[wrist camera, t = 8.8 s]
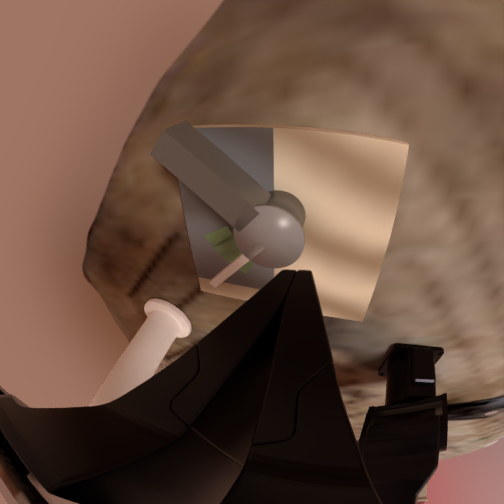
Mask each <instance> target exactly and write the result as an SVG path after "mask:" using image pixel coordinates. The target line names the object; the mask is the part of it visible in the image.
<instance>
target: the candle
mask: <svg viewBox="0 0 504 504" xmlns="http://www.w3.org/2000/svg"><path fill="white" fill-rule="evenodd" d="M144 311H145V314H146V316H147V319H146V320H145V322H144V323H143V325H142V326H141V327H140V329H139V330H138V332H137V333H136V335H135V336H134V338H133V339H132V340H131V342H130V343H129V345H128V346H127V348H126V349H125V351H124V352H123V354H122V355H121V357H120V358H119V360H118V361H117V363H116V364H115V366H114V367H113V369H112V370H111V372H110V373H109V375H108V376H107V378H106V379H105V381H104V382H103V384H102V385H101V387H100V389H99V390H98V392H97V393H96V395H95V396H94V398H93V400H92V401H91V403H90V404H89V406H97V405H102V404H105V403H108V402H111V401H113V400H115V399H117V398H119V397H121V396H122V395H124V394H126V393H127V392H129V391H130V390H132V389H134V388H135V387H137V386H138V385H140V384H142V383H143V382H145V381H146V380H148V379H149V378H151V377H152V376H153V375H154V373H155V371H156V370H157V368H158V366H159V365H160V363H161V361H162V360H163V358H164V356H165V355H166V353H167V351H168V350H169V348H170V346H171V345H172V343H173V341H174V340H175V338H176V337H179V338H183V337H186V336H188V335H189V334H190V332H191V323H190V321H189V319H188V318H187V317H186V315H185V314H184V313H183V312H182V311H181V310H180V309H178V308H177V307H176V306H174V305H173V304H171V303H169V302H167V301H165V300H162V299H157V298H153V299H150V300H148V301H147V302H146V304H145V306H144Z"/></svg>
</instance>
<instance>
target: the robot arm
mask: <svg viewBox="0 0 504 504" xmlns="http://www.w3.org/2000/svg"><path fill="white" fill-rule="evenodd" d="M443 354H444V349H443V348H433V347H422V346H412V345H403V344H396V345H395V346H394V347H393V348H392V350H391V352H390V353H389V355H388V357H387V358H386V360H385V361H384V363H383V364H382V366H381V368H380V369H379V371H378V375H379V376H385V377H387V384H386V399H385V406H378V407H374V406H372V407H369V410H368V413H367V414H366V418H365V422H364V425H363V429H362V432H361V435H360V439H359V441H358V443H357V441H356V438H355V435H354V432H353V430H352V427H351V424H350V421H349V418H348V415H347V412H346V409H345V406H344V403H343V400H342V396H341V392H340V388H339V384H338V380H337V376H336V371H335V366H334V364H333V357H332V352H331V348H330V343H329V339H328V334H327V330H326V326H325V321H324V317H323V313H322V309H321V305H320V301H319V297H318V293H317V289H316V285H315V281H314V277H313V273H312V271H311V270H298V271H296V270H289V269H284V270H281V271H280V272H279V273H278V274H277V275H276V276H275V277H274V278H272V279H271V280H270V281H269V282H268V283H267V284H266V285H264V286H263V287H262V288H261V289H260V290H259V291H258V292H257V293H255V294H254V295H253V296H252V297H251V298H250V299H248V300H247V301H246V302H245V303H244V304H243V305H242V306H240V307H239V308H238V309H237V310H236V311H235V312H233V313H232V314H231V315H230V316H229V317H228V318H226V319H225V320H224V321H223V322H222V323H221V324H219V325H218V326H217V327H216V328H215V329H213V330H212V331H211V332H210V333H209V334H207V335H206V336H205V337H204V338H203V339H202V340H200V341H199V342H198V345H197V344H195V345H194V346H193V347H192V348H191V349H189V350H188V351H187V352H186V353H184V354H183V355H182V356H180V357H179V358H178V359H177V360H175V361H174V362H173V363H171V364H170V365H169V366H167V367H166V368H164V369H163V370H161V371H160V372H158V373H157V374H156V375H154V376H152V377H151V378H149V379H148V380H146V381H145V382H143V383H142V384H140V385H138V386H137V387H135V388H134V389H132V390H130V391H129V392H127V393H126V394H124V395H122V396H121V397H119V398H117V399H115V400H113V401H111V402H108V403H105V404H102V405H97V406H87V407H70V408H30V407H28V406H27V405H26V404H24V403H23V402H22V401H21V400H19V399H18V398H17V397H15V396H13V395H11V394H9V393H7V392H6V391H5V390H4V389H3V388H2V387H1V386H0V492H1V493H2V495H3V496H4V498H5V500H6V501H7V502H8V504H417V502H418V497H419V494H420V492H421V491H422V490H423V488H424V487H425V485H426V484H427V483H428V481H429V480H430V478H431V477H432V475H433V474H434V473H435V471H436V469H437V467H438V458H439V452H440V451H445V450H446V448H447V432H448V414H447V393H444V394H442V395H439V396H436V385H435V381H436V376H435V364H436V362H437V361H438V360H439V359H440V358H441V356H442V355H443ZM439 414H442V416H440V415H439Z"/></svg>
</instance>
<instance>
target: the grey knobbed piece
mask: <svg viewBox="0 0 504 504" xmlns="http://www.w3.org/2000/svg"><path fill="white" fill-rule="evenodd" d="M150 155H151V156H153V157H154V158H155V159H156V160H157V161H158V162H159V163H161V164H162V165H163V166H164V167H165V168H166V169H168V170H169V171H170V172H171V173H172V174H173V175H174V176H176V177H177V178H178V179H179V180H180V181H181V182H183V183H184V184H185V185H186V186H187V187H188V188H189V189H191V190H192V191H193V192H194V193H195V194H196V195H197V196H199V197H200V198H201V199H202V200H203V201H204V202H205V203H207V204H208V205H209V206H210V207H211V208H212V209H213V210H215V211H216V212H217V213H218V214H219V215H220V216H221V217H223V218H224V219H225V220H226V221H227V222H228V223H229V224H231V225H232V226H233V227H234V232H233V233H234V240H235V243H236V245H237V247H238V249H239V250H240V252H241V253H242V254H241V255H239V256H238V257H237V258H236V259H235V260H234V261H232V262H231V263H230V264H229V265H228V266H226V267H225V268H224V269H223V270H222V271H221V272H219V273H218V274H217V275H216V276H215V277H214V278H212V279H211V281H210V282H209V283H210V284H211V285H212V286H214V287H215V288H216V287H217V286H218V285H219V284H221V283H222V282H223V281H224V280H226V279H227V278H228V277H229V276H231V275H232V274H233V273H235V272H236V271H237V270H238V269H240V268H241V267H242V266H243V265H245V264H246V263H247V262H248V261H252V262H253V263H255V264H257V265H260V266H263V267H266V268H283V267H287V266H289V265H291V264H293V263H294V262H296V261H297V260H298V259H299V257H300V256H301V254H302V252H303V248H304V245H305V234H304V230H303V226H304V223H305V218H306V213H305V209H304V206H303V205H302V203H301V202H300V200H299V199H298V198H297V197H295V196H294V195H293V194H291V193H289V192H286V191H281V190H274V191H269V192H268V191H267V190H265V189H264V188H263V187H262V186H261V185H260V184H259V183H258V182H257V181H256V180H254V179H253V178H252V177H251V176H250V175H249V174H248V173H247V172H246V171H244V170H243V169H242V168H241V167H240V166H239V165H238V164H236V163H235V162H234V161H233V160H232V159H231V158H230V157H228V156H227V155H226V154H225V153H224V152H223V151H221V150H220V149H219V148H218V147H217V146H216V145H214V144H213V143H212V142H211V141H210V140H208V139H207V138H206V137H205V136H204V135H202V134H201V133H200V132H199V131H198V130H196V129H195V128H194V127H193V126H192V125H190V124H189V123H188V122H187V121H185V122H182V123H180V124H177V125H175V126H172V127H170V128H168V129H165V130H163V132H162V134H161V136H160V137H159V139H158V141H157V143H156V144H155V146H154V148H153V150H152V152H151V154H150Z"/></svg>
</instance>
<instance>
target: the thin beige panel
mask: <svg viewBox="0 0 504 504" xmlns="http://www.w3.org/2000/svg"><path fill="white" fill-rule="evenodd" d="M193 127H194V128H195V129H196V130H198V131H199V132H200V133H201V134H202V135H204V136H205V137H206V138H207V139H208V140H210V141H211V142H212V143H213V144H214V145H216V146H217V147H218V148H219V149H220V150H221V151H223V152H224V153H225V154H226V155H227V156H228V157H230V158H231V159H232V160H233V161H234V162H235V163H236V164H238V165H239V166H240V167H241V168H242V169H243V170H244V171H246V172H247V173H248V174H249V175H250V176H251V177H252V178H253V179H254V180H256V181H257V182H258V183H259V184H260V185H261V186H262V187H263V188H264V189H265V190H267V191H268V192H269V191H274V190H281V191H286V192H289V193H291V194H293V195H294V196H295V197H297V198H298V199H299V200H300V202H301V203H302V205H303V206H304V209H305V213H306V218H305V223H304V226H303V230H304V234H305V245H304V248H303V252H302V254H301V256H300V257H299V259H298V260H297V261H296V262H294V263H293V264H291V265H289V266H287V267H283V268H266V267H263V266H260V265H257V264H255V263H253V262H252V261H248V262H247V263H246V264H245V265H243V266H242V267H241V268H240V269H238V270H237V271H236V272H235V273H233V274H232V275H231V276H229V277H228V278H227V279H226V280H224V281H223V282H222V283H221V284H219V285H218V286H217V287H216V288H215V287H214V286H212V285H211V284H210V283H209V282H210V281H211V279H212V278H214V277H215V276H216V275H217V274H218V273H219V272H221V271H222V270H223V269H224V268H225V267H226V266H228V265H229V264H230V263H231V262H232V261H234V260H235V259H236V258H237V257H238V256H239V255H241V254H242V253H241V252H240V250H239V249H238V247H237V245H236V243H235V240H234V233H233V232H234V227H233V226H232V225H231V224H229V223H228V222H227V221H226V220H225V219H224V218H223V217H221V216H220V215H219V214H218V213H217V212H216V211H215V210H213V209H212V208H211V207H210V206H209V205H208V204H207V203H205V202H204V201H203V200H202V199H201V198H200V197H199V196H197V195H196V194H195V193H194V192H193V191H192V190H191V189H189V188H188V187H187V186H186V185H185V184H184V183H183V182H181V181H180V180H179V179H178V182H179V187H180V193H181V199H182V204H183V210H184V215H185V220H186V225H187V230H188V235H189V240H190V245H191V250H192V254H193V259H194V264H195V268H196V273H197V277H198V279H199V283H200V287H201V291H204V292H209V293H213V294H217V295H222V296H226V297H231V298H236V299H240V300H245V301H247V300H248V299H250V298H251V297H252V296H253V295H254V294H255V293H257V292H258V291H259V290H260V289H261V288H262V287H263V286H264V285H266V284H267V283H268V282H269V281H270V280H271V279H272V278H274V277H275V276H276V275H277V274H278V273H279V272H280V271H281V270H284V269H289V270H296V271H298V270H311V271H312V273H313V277H314V281H315V285H316V289H317V293H318V297H319V301H320V305H321V309H322V313H323V315H324V316H330V317H336V318H342V319H349V320H355V321H363V319H364V316H365V313H366V311H367V308H368V305H369V303H370V300H371V297H372V294H373V291H374V288H375V285H376V282H377V279H378V276H379V273H380V270H381V267H382V263H383V260H384V257H385V253H386V250H387V246H388V243H389V239H390V235H391V232H392V228H393V224H394V220H395V216H396V211H397V207H398V203H399V198H400V193H401V188H402V183H403V178H404V173H405V167H406V161H407V155H408V148H409V145H408V144H407V142H406V141H401V140H397V139H391V138H386V137H381V136H375V135H369V134H363V133H356V132H349V131H341V130H333V129H323V128H313V127H300V126H285V125H259V124H220V125H195V126H193Z"/></svg>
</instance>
